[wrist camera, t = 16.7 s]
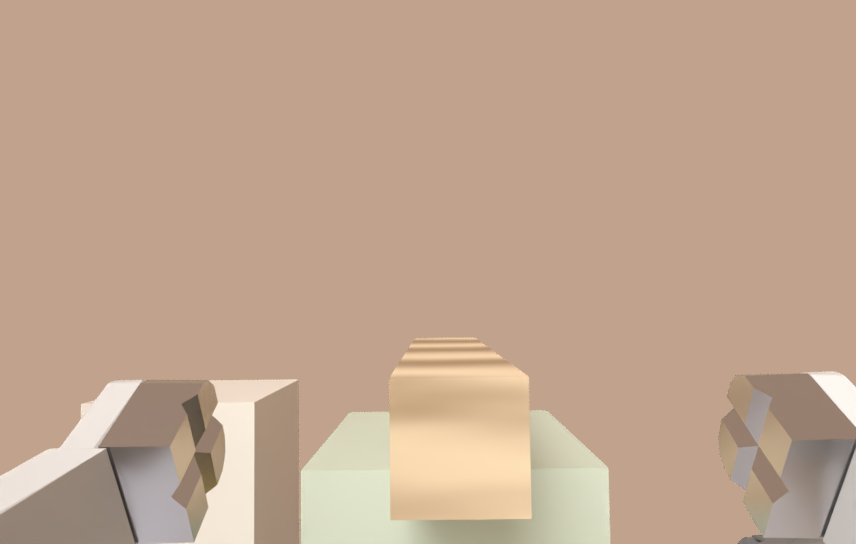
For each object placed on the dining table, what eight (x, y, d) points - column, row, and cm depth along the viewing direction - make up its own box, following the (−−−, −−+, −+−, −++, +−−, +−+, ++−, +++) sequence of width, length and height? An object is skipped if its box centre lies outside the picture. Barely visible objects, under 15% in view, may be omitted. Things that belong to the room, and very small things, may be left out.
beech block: (537, 519, 16) (534, 376, 16) (390, 520, 16) (389, 377, 16) (478, 397, 38) (477, 337, 38) (415, 398, 38) (415, 338, 38)
